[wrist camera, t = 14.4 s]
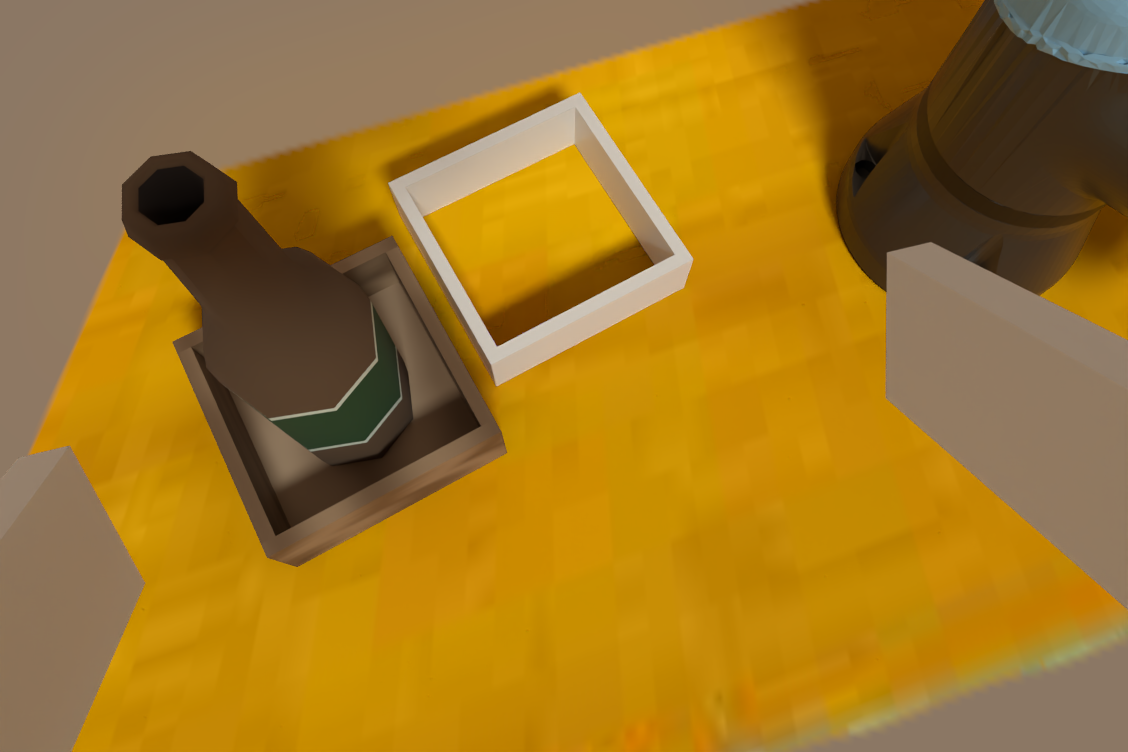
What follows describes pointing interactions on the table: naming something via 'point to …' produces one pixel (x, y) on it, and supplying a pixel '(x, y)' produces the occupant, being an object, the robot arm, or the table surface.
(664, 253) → the white corral
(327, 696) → the table surface
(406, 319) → the wooden bin
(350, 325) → the beer bottle
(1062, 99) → the robot arm
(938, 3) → the table surface
